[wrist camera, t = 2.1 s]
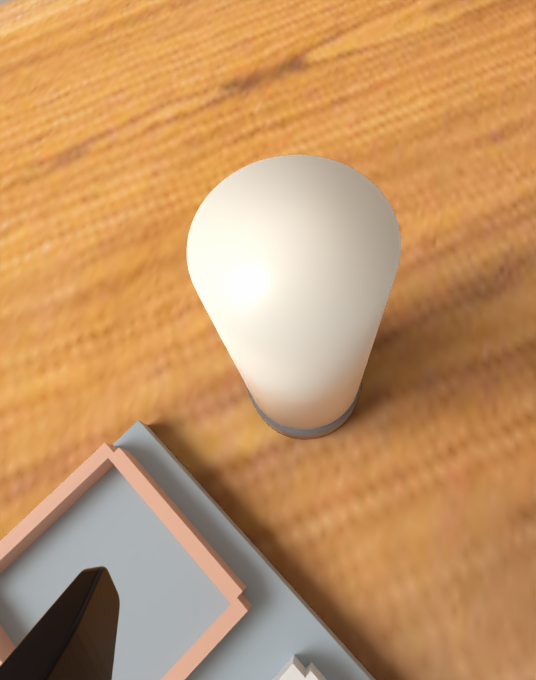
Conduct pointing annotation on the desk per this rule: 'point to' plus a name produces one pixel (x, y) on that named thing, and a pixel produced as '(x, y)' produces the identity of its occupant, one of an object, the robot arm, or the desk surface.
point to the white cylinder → (296, 283)
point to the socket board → (164, 575)
